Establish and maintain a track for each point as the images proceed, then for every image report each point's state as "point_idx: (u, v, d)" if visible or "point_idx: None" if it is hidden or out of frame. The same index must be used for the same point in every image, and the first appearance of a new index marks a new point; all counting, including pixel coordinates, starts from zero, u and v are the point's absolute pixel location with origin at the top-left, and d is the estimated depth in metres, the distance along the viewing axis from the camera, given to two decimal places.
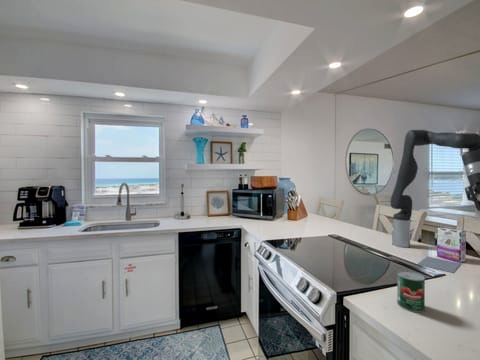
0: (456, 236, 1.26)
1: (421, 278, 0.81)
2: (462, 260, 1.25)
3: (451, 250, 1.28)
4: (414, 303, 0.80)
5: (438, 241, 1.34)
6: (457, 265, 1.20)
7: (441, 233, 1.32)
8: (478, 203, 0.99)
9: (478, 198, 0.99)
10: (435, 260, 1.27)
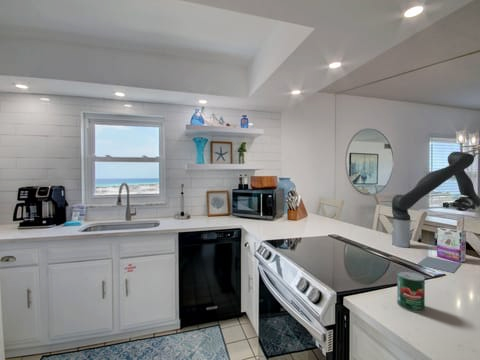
0: (456, 236, 1.26)
1: (421, 278, 0.81)
2: (462, 260, 1.25)
3: (451, 250, 1.28)
4: (414, 304, 0.80)
5: (438, 241, 1.34)
6: (457, 265, 1.20)
7: (441, 233, 1.32)
8: None
9: None
10: (435, 260, 1.27)
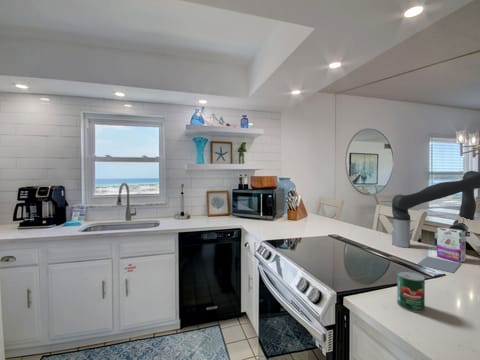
0: (456, 236, 1.26)
1: (421, 278, 0.81)
2: (462, 260, 1.25)
3: (451, 250, 1.28)
4: (414, 304, 0.80)
5: (438, 241, 1.34)
6: (457, 265, 1.20)
7: (441, 233, 1.32)
8: None
9: None
10: (435, 260, 1.27)
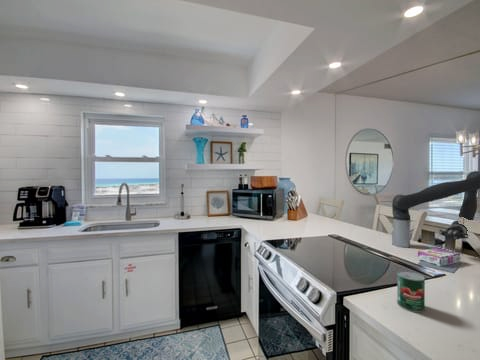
0: None
1: (421, 278, 0.81)
2: (459, 259, 1.24)
3: None
4: (414, 303, 0.80)
5: None
6: (457, 265, 1.20)
7: None
8: None
9: None
10: None
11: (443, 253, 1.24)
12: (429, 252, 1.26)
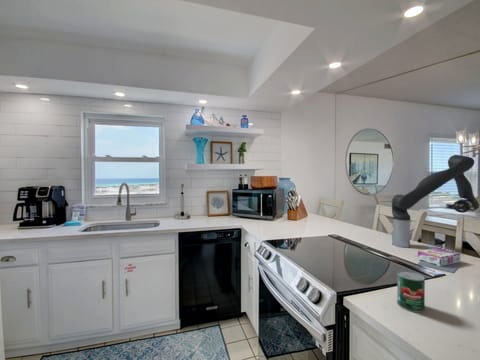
0: None
1: (421, 278, 0.81)
2: (459, 259, 1.24)
3: None
4: (414, 303, 0.80)
5: None
6: (457, 265, 1.20)
7: None
8: (459, 209, 1.39)
9: (460, 209, 1.40)
10: None
11: (443, 253, 1.24)
12: (429, 252, 1.26)
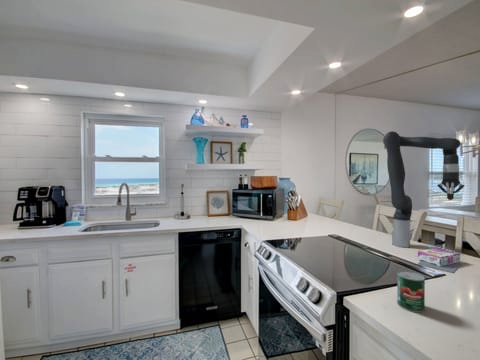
0: None
1: (421, 278, 0.81)
2: (459, 259, 1.24)
3: None
4: (414, 304, 0.80)
5: None
6: (457, 265, 1.20)
7: None
8: None
9: None
10: None
11: (443, 253, 1.24)
12: (429, 252, 1.26)
